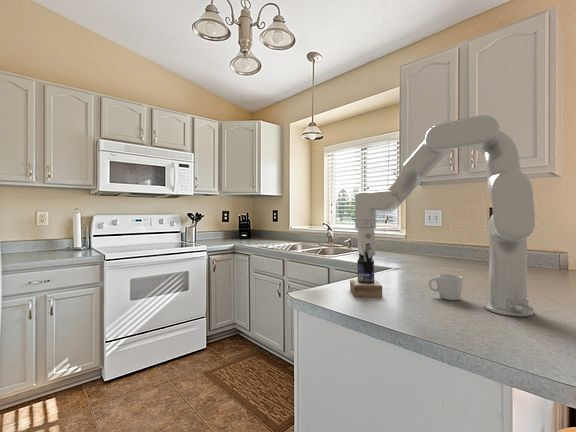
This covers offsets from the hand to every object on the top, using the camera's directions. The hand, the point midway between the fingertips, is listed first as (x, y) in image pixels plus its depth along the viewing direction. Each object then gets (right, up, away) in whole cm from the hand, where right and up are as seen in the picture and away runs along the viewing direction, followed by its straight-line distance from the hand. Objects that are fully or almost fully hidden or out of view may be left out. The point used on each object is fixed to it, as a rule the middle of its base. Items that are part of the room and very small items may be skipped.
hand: (365, 270), depth 115 cm
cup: (+27, -9, -6) cm, 29 cm away
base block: (0, -9, 0) cm, 9 cm away
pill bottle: (0, -5, 0) cm, 5 cm away
